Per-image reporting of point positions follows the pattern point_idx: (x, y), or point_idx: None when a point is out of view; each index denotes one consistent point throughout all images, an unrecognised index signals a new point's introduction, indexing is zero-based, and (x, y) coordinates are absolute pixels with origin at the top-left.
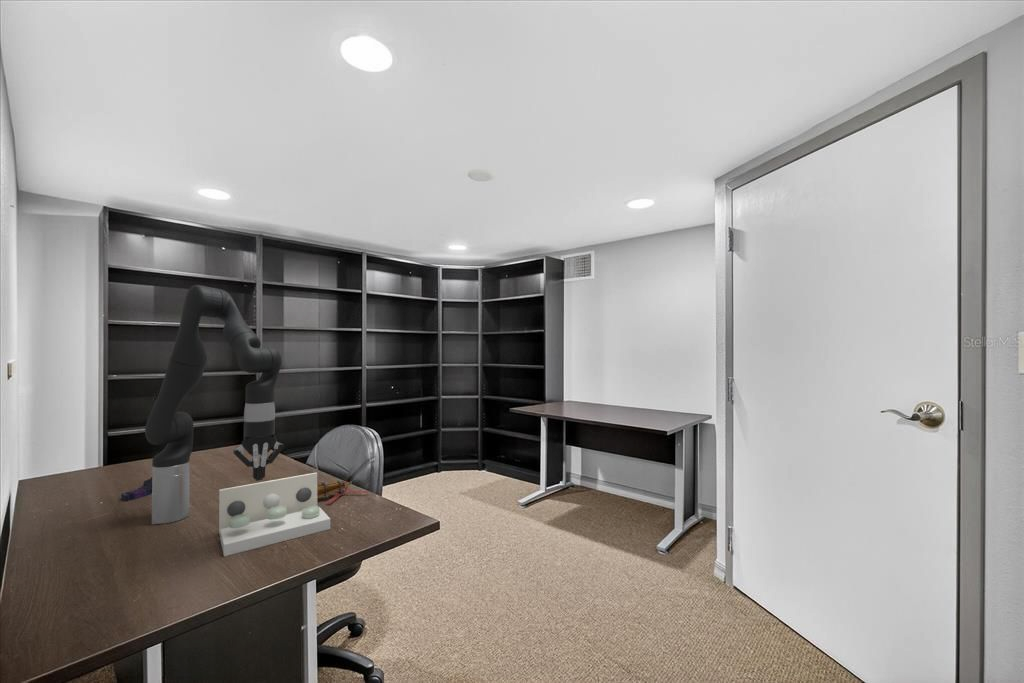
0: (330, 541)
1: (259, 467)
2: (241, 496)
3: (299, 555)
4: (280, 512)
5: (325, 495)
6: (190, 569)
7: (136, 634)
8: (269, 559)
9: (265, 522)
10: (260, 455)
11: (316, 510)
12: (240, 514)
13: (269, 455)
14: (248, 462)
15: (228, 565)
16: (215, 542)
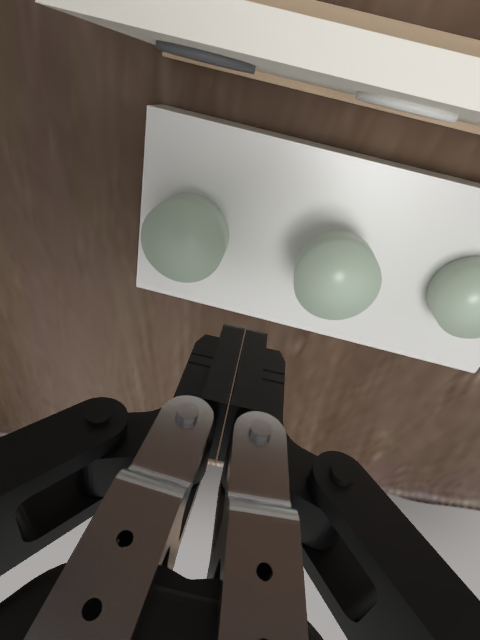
0: (388, 413)
1: (215, 456)
2: (221, 53)
3: (291, 414)
4: (331, 317)
5: None
6: (70, 276)
7: (11, 429)
8: (233, 379)
9: (311, 196)
10: (217, 552)
11: (476, 336)
12: (193, 207)
13: (354, 536)
14: (85, 505)
15: (150, 331)
16: (145, 112)
